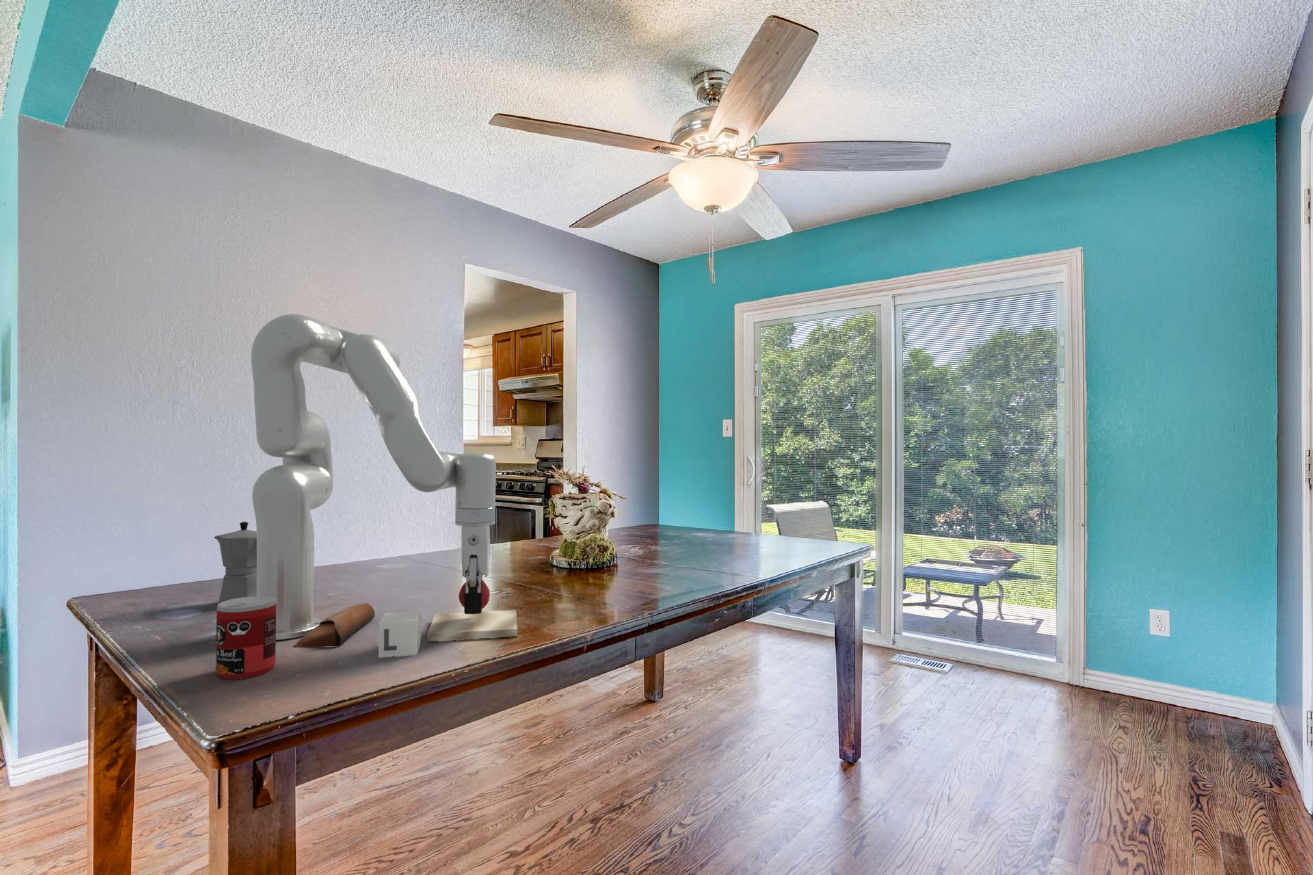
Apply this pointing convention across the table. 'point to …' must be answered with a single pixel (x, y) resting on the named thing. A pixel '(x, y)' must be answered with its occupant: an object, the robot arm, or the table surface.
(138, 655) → the table surface
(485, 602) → the onion
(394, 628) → the letter cube
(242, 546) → the coffeepot
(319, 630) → the sunglasses case
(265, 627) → the canned food
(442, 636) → the birch board
